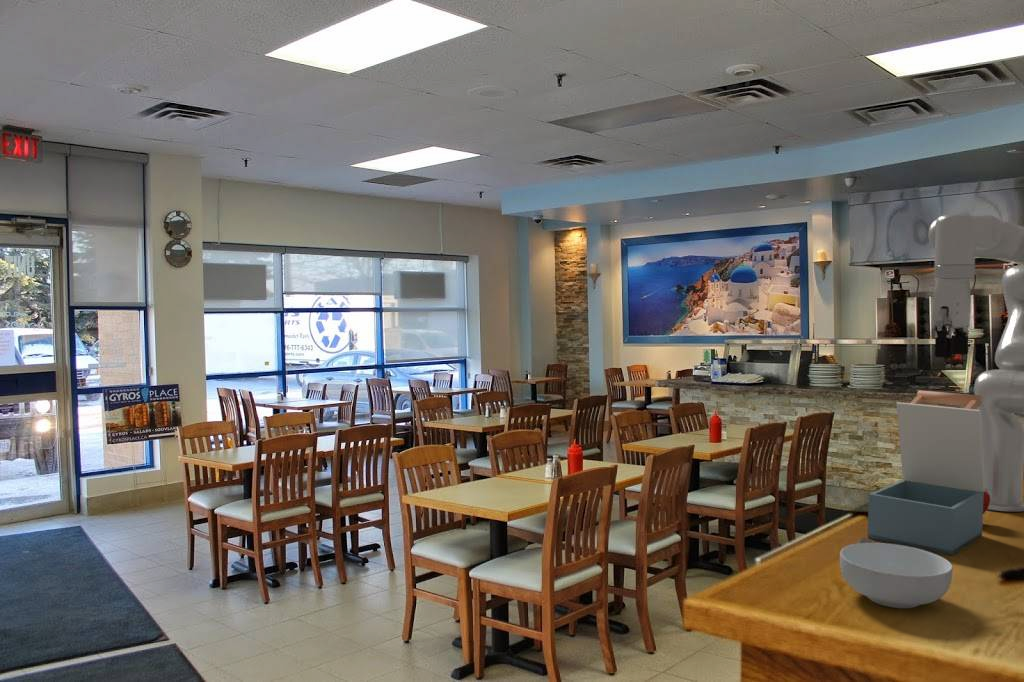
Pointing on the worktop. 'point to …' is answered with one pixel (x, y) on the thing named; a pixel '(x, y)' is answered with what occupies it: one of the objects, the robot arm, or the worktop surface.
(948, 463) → the flap
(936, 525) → the carton
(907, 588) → the cereal bowl
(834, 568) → the worktop surface
